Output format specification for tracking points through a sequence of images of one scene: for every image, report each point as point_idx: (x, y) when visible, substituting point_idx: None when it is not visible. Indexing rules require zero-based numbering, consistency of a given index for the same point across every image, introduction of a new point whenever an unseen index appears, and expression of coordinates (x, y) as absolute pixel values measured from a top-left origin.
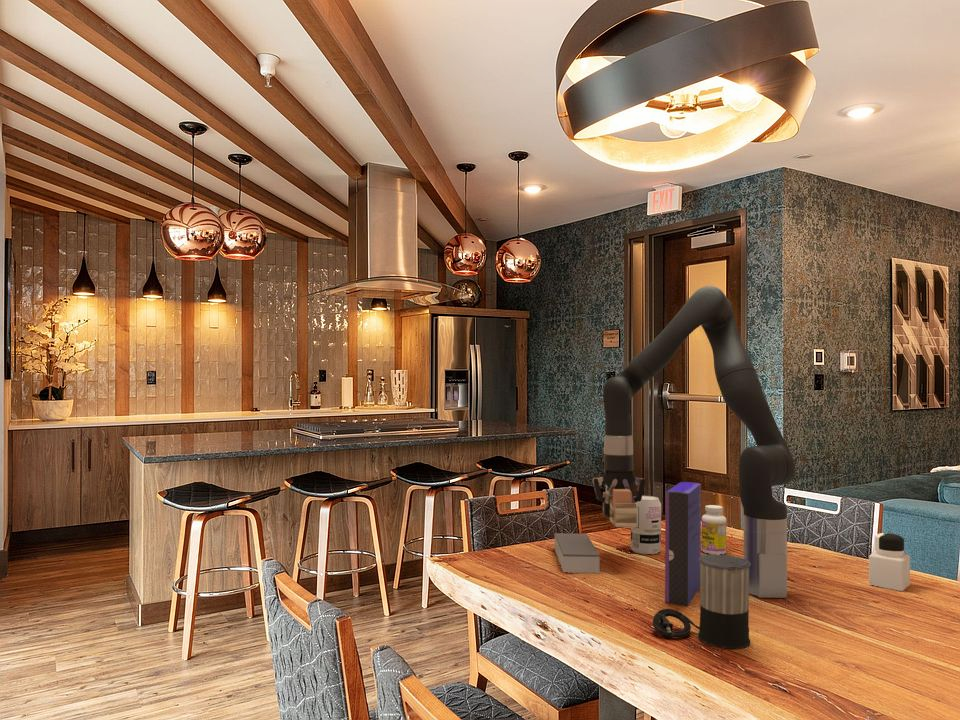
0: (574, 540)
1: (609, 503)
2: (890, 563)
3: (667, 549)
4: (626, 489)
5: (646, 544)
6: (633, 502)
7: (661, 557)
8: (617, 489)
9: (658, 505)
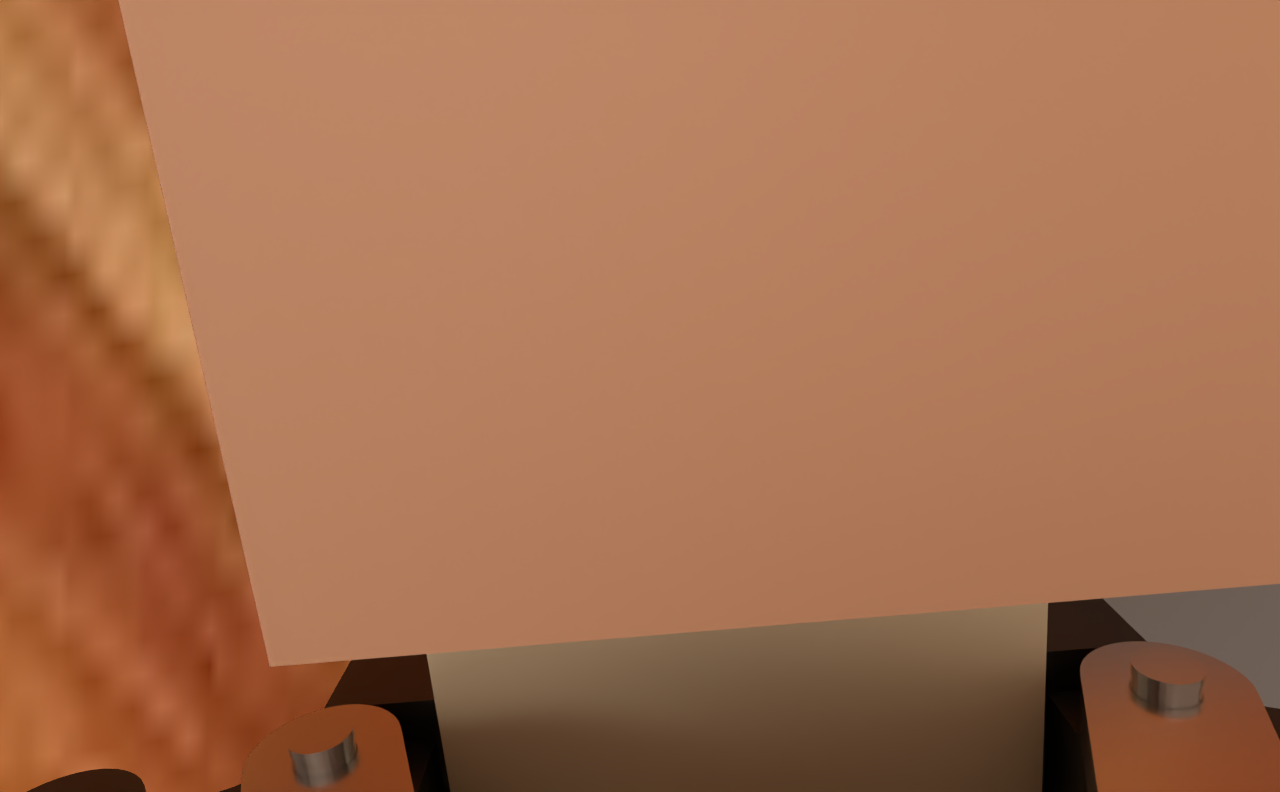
0: (1197, 633)
1: (1031, 711)
2: None
3: None
4: (422, 464)
5: None
6: (293, 731)
7: (236, 652)
8: (1215, 387)
9: None
